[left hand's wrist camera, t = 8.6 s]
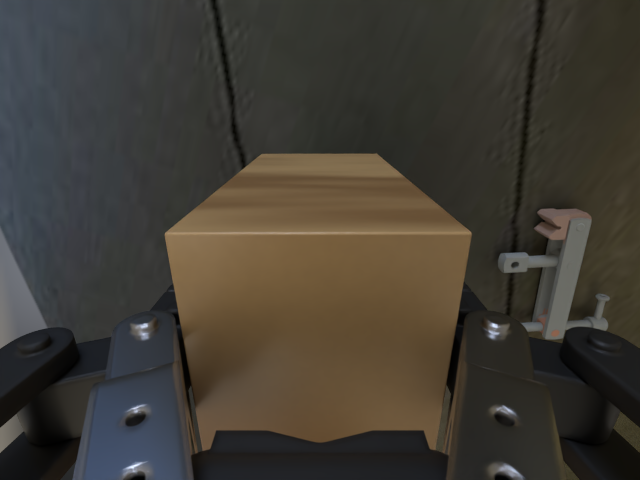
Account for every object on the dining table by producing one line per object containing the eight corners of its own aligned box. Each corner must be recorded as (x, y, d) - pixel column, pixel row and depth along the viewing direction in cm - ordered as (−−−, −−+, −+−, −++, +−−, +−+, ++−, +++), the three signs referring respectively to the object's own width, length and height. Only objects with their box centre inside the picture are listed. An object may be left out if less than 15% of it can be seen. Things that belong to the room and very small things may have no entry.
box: (261, 153, 17) (162, 233, 6) (377, 153, 17) (473, 232, 6) (281, 480, 26) (254, 744, 15) (358, 480, 26) (385, 744, 15)
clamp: (516, 218, 26) (649, 212, 26) (501, 210, 28) (625, 204, 28) (490, 375, 31) (600, 371, 31) (479, 359, 33) (583, 354, 33)
